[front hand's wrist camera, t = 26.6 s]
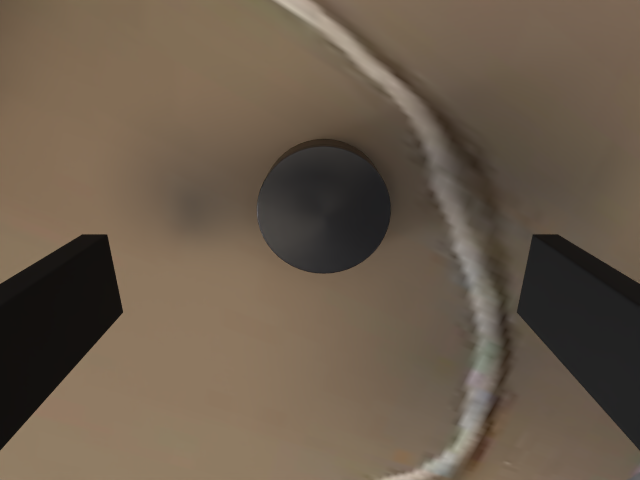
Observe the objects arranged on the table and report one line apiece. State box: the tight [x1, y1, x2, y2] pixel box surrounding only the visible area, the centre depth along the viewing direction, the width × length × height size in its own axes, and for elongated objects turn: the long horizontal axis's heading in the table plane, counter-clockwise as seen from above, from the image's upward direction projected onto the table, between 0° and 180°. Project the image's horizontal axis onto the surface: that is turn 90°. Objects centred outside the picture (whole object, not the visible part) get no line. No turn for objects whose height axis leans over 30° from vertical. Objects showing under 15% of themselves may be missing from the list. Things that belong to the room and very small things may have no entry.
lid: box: [257, 139, 391, 273], centre depth 16 cm, size 5×5×2 cm
